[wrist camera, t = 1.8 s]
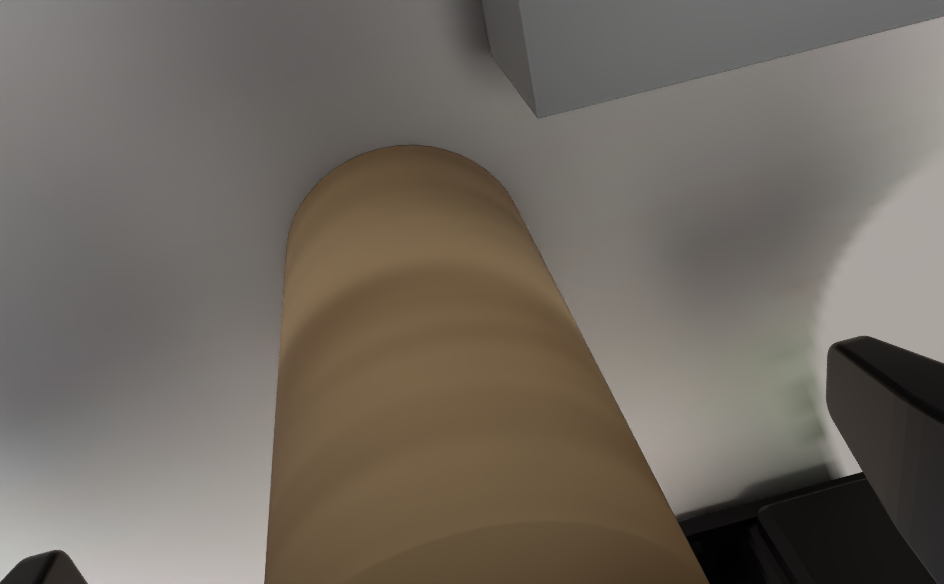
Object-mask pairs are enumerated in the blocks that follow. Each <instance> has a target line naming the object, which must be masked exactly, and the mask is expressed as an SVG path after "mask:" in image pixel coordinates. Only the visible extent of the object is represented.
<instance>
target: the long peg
mask: <svg viewBox="0 0 944 584" xmlns="http://www.w3.org/2000/svg"><path fill="white" fill-rule="evenodd" d="M264 584H709V582H708V580H707V578H706V576H705V574H704V572H703V570H702V568H701V566H700V564H699V562H698V560H697V558H696V556H695V554H694V553H693V551H692V549H691V547H690V545H689V543H688V541H687V539H686V537H685V535H684V533H683V531H682V529H681V527H680V525H679V523H678V521H677V519H676V517H675V516H674V514H673V512H672V510H671V508H670V506H669V504H668V502H667V500H666V498H665V496H664V494H663V492H662V490H661V488H660V486H659V484H658V482H657V480H656V478H655V477H654V475H653V473H652V471H651V469H650V467H649V465H648V463H647V461H646V459H645V457H644V455H643V453H642V451H641V449H640V447H639V445H638V443H637V441H636V439H635V438H634V436H633V434H632V432H631V430H630V428H629V426H628V424H627V422H626V420H625V418H624V416H623V414H622V412H621V410H620V408H619V406H618V404H617V402H616V401H615V399H614V397H613V395H612V393H611V391H610V389H609V387H608V385H607V383H606V381H605V379H604V377H603V375H602V373H601V371H600V369H599V367H598V365H597V363H596V362H595V360H594V358H593V356H592V354H591V352H590V350H589V348H588V346H587V344H586V342H585V340H584V338H583V336H582V334H581V332H580V330H579V328H578V326H577V325H576V323H575V321H574V319H573V317H572V315H571V313H570V311H569V309H568V307H567V305H566V303H565V301H564V299H563V297H562V295H561V293H560V291H559V289H558V287H557V286H556V284H555V282H554V280H553V278H552V276H551V274H550V272H549V270H548V268H547V266H546V264H545V262H544V260H543V258H542V256H541V254H540V252H539V250H538V248H537V247H536V245H535V243H534V241H533V239H532V237H531V235H530V233H529V231H528V229H527V227H526V225H525V223H524V221H523V219H522V217H521V215H520V213H519V211H518V210H517V208H516V206H515V204H514V202H513V200H512V199H511V197H510V196H509V194H508V192H507V191H506V190H505V188H504V187H503V186H502V185H501V184H500V182H499V181H498V180H497V179H496V178H495V177H494V176H492V175H491V174H490V173H489V172H488V171H487V170H486V169H484V168H483V167H481V166H480V165H478V164H477V163H475V162H474V161H472V160H470V159H468V158H466V157H463V156H461V155H459V154H456V153H453V152H450V151H447V150H444V149H440V148H435V147H429V146H417V145H405V146H392V147H387V148H382V149H377V150H374V151H371V152H368V153H364V154H361V155H359V156H357V157H355V158H353V159H351V160H349V161H346V162H345V163H343V164H342V165H340V166H338V167H337V168H335V169H334V170H332V171H331V172H330V173H329V174H327V175H326V176H325V177H324V178H323V179H321V180H320V181H319V182H318V183H317V184H316V186H315V187H314V188H313V189H312V190H311V191H310V192H309V193H308V195H307V196H306V198H305V199H304V201H303V202H302V204H301V205H300V207H299V209H298V211H297V213H296V215H295V217H294V219H293V222H292V225H291V228H290V231H289V235H288V241H287V247H286V261H285V276H284V291H283V306H282V322H281V337H280V352H279V367H278V383H277V398H276V413H275V428H274V444H273V459H272V474H271V490H270V505H269V520H268V535H267V551H266V566H265V581H264Z"/></svg>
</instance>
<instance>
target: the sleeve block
mask: <svg viewBox="0 0 944 584" xmlns="http://www.w3.org/2000/svg"><path fill="white" fill-rule="evenodd" d="M481 3H482V9H483V14H484V19H485V25H486V30H487V36H488V41H489V46H490V52H491V56H492V57H493V59H494V60H495V61H496V63H497V64H498V65H499V67H500V68H501V69H502V71H503V72H504V73H505V75H506V76H507V78H508V79H509V80H510V82H511V83H512V84H513V86H514V87H515V88H516V90H517V91H518V93H519V94H520V95H521V97H522V98H523V99H524V101H525V102H526V103H527V105H528V106H529V108H530V109H531V110H532V112H533V113H534V114H535V116H536V117H537V118H542V117H546V116H550V115H554V114H558V113H562V112H566V111H570V110H574V109H578V108H582V107H586V106H590V105H594V104H598V103H602V102H606V101H610V100H614V99H618V98H622V97H626V96H630V95H634V94H638V93H641V92H645V91H649V90H653V89H657V88H661V87H665V86H669V85H673V84H677V83H681V82H685V81H689V80H693V79H697V78H701V77H705V76H709V75H713V74H717V73H721V72H725V71H729V70H733V69H737V68H741V67H745V66H749V65H753V64H757V63H761V62H765V61H769V60H772V59H776V58H780V57H784V56H788V55H792V54H796V53H800V52H804V51H808V50H812V49H816V48H820V47H824V46H828V45H832V44H836V43H840V42H844V41H848V40H852V39H856V38H860V37H864V36H868V35H872V34H876V33H880V32H884V31H888V30H892V29H896V28H900V27H903V26H907V25H911V24H915V23H919V22H923V21H927V20H931V19H935V18H939V17H943V16H944V0H481Z"/></svg>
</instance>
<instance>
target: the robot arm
mask: <svg viewBox="0 0 944 584" xmlns="http://www.w3.org/2000/svg"><path fill="white" fill-rule="evenodd" d="M826 402H827V407H828V410H829V413H830V415H831V418H832V420H833V421H834V423H835V425H836V426H837V428H838V430H839V432H840V433H841V435H842V437H843V438H844V440H845V442H846V443H847V445H848V447H849V448H850V450H851V452H852V454H853V456H854V457H855V459H856V461H857V462H858V464H859V466H860V467H861V469H862V471H863V472H861V473H857V474H853V475H850V476H846V477H842V478H839V479H835V480H831V481H828V482H824V483H820V484H817V485H813V486H809V487H806V488H802V489H798V490H795V491H791V492H788V493H784V494H780V495H777V496H773V497H769V498H766V499H762V500H758V501H755V502H751V503H747V504H744V505H740V506H736V507H733V508H729V509H725V510H722V511H718V512H715V513H711V514H707V515H704V516H700V517H696V518H693V519H689V520H685V521H683V522H680V523H679V525H680V527H681V529H682V531H683V533H684V535H685V537H686V539H687V541H688V543H689V545H690V547H691V549H692V551H693V553H694V554H695V556H696V558H697V560H698V562H699V564H700V566H701V568H702V570H703V572H704V574H705V576H706V578H707V580H708V582H709V584H944V363H941V362H939V361H936V360H933V359H930V358H927V357H925V356H922V355H919V354H917V353H914V352H911V351H908V350H906V349H903V348H900V347H897V346H894V345H891V344H889V343H886V342H883V341H880V340H878V339H875V338H872V337H869V336H858V337H855V338H851V339H847V340H843V341H840V342H836V343H834V344H833V345H831V347H830V348H829V350H828V355H827V381H826ZM0 584H88V583H87V582H86V580H85V579H84V578H83V576H82V575H81V573H80V572H79V570H78V569H77V567H76V566H75V564H74V563H73V561H72V560H71V558H70V557H69V556H68V555H67V554H66V553H65V552H63V551H61V550H53V551H49V552H45V553H42V554H38V555H34V556H30V557H28V558H25V559H23V560H22V561H20V562H19V563H18V564H17V565H16V566H15V567H14V568H13V569H12V570H11V571H10V572H9V573H8V574H7V576H6V577H5V578H4V579H3V580H2V581H1V582H0Z"/></svg>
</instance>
